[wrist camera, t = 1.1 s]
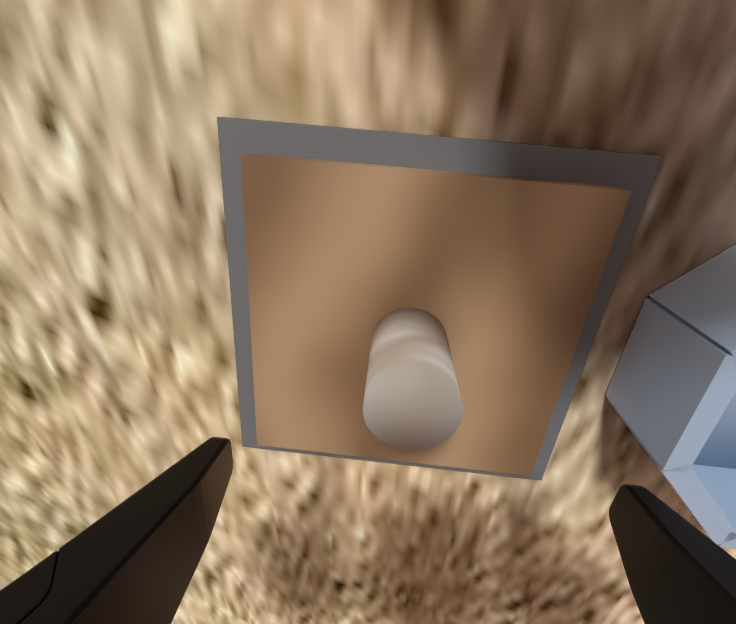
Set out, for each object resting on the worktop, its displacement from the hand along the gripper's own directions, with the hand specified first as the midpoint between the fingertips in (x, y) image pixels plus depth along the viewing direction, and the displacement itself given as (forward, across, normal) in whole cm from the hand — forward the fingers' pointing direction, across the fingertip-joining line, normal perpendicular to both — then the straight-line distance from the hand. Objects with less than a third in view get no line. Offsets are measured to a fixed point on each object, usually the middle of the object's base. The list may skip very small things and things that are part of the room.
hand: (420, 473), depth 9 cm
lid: (+7, 0, 0) cm, 7 cm away
